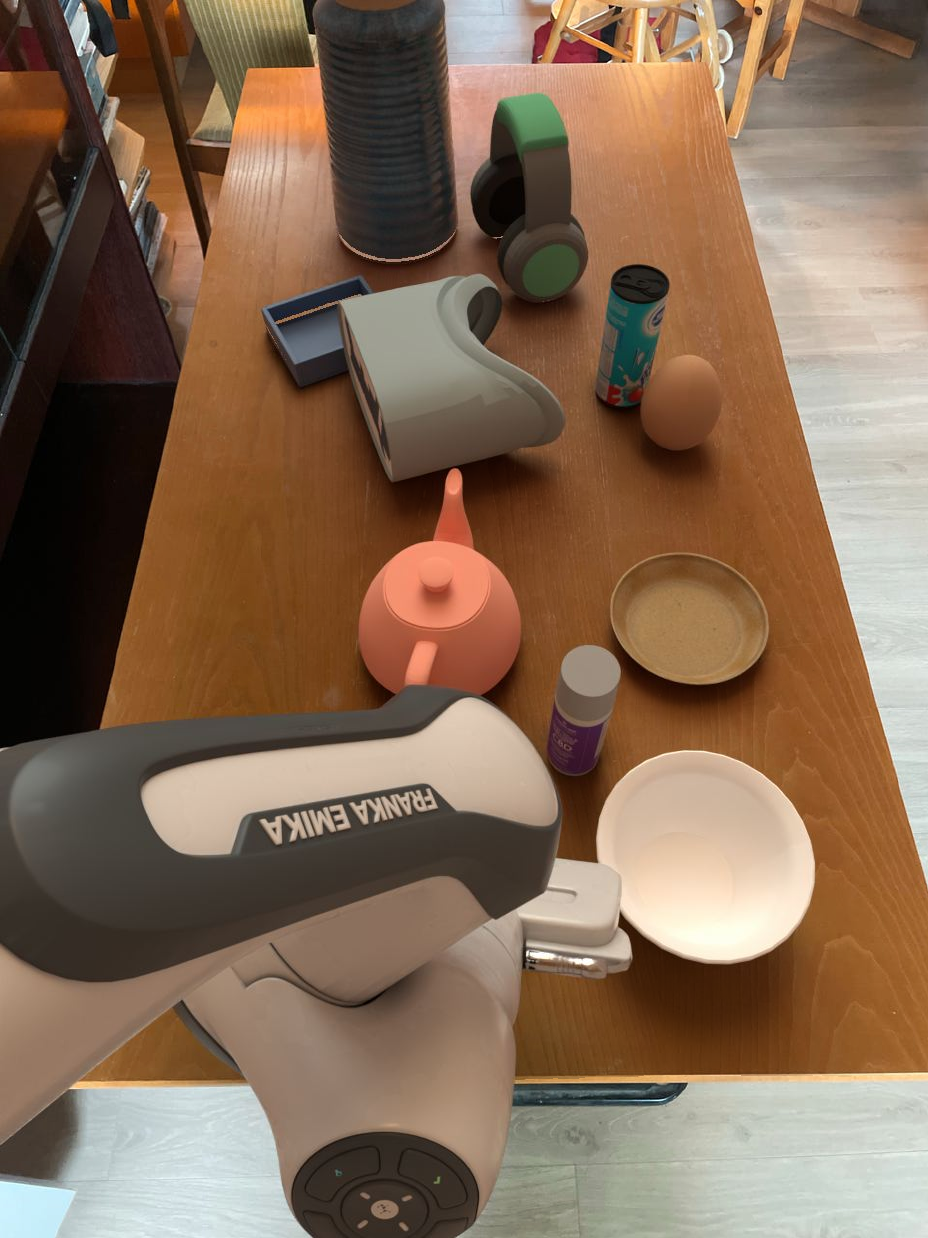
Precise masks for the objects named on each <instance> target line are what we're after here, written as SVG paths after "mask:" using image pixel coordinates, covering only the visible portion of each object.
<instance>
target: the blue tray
mask: <svg viewBox="0 0 928 1238" xmlns="http://www.w3.org/2000/svg"><path fill="white" fill-rule="evenodd" d="M374 293H375V292H374V291H373V290H372V288H371V286H370V285H369V284H368V282H367V281H366V279H365V278H364V277H363V275H362V274H359V275H355V276H353V277H350V278H347V279H344V280H341V281H338V282H335V283H331V284H329V285H326V286H323V287H320V288H316V289H314V290H310V291H308V292H305V293H302V294H298V295H296V296H293V297H290V298H286V299H284V300H280V301H277V302H274V303H272V304H269V305H265V306H262V307H260V310H261V315H262V318H263V322H265V323H264V326H265V324H266V326H267V327H268V329H269V331H270V333H271V334H270V333H269V331H268V329H267V327H266V326H265V330H266V333H267V334H268V337H269V338H270V339H271V341H272V343H273V344H274V347H275V348H276V350H277V351H278V353H279V355H280V357H281V358H282V360H283V362H284V363H285V365H286V367H287V368H288V370H289V372H290V374H291V375H292V377H293V378H294V380H295V382H296V384H297V385H298V387H299V388H303V387H306V386H308V385H312V384H314V383H317V382H320V381H322V380H325V379H329V378H331V377H334V376H337V375H340V374H342V373H345V372H347V371H349V368H348V364H347V360H346V356H345V352H344V348H343V343H342V338H341V332H340V326H339V319H338V309H337V306H338V304H335V305H332V306H329V307H326V308H323V309H320V310H317V311H314V312H312V313H309V314H306V315H303V316H300V317H297V318H294V319H291V320H288V321H285V322H282V323H279V324H275V322H276V321H278V320H282V319H284V318H287V317H290V316H292V315H296V314H299V313H302V312H304V311H308V310H311V309H315V308H318V307H319V306H323V305H325V304H327V303H332V302H335V301H338V300H342V299H345V298H348V297H351V296H354V295H358V294H361V295H362V296H364V295H369V294H374ZM359 297H360V296H359ZM271 335H272V336H273V338H274V339H273V338H272V336H271ZM274 340H275V341H274ZM275 342H276V343H277V344H276V343H275ZM277 345H278V346H277ZM278 347H279V348H278ZM281 352H282V353H281ZM282 354H283V355H282ZM285 359H286V360H285Z"/></svg>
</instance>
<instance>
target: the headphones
mask: <svg viewBox="0 0 928 1238" xmlns="http://www.w3.org/2000/svg"><path fill="white" fill-rule="evenodd" d="M498 100H499V99H498ZM569 144H570V143H569V137H568V132H567V128H566V126H565V123H564V121H563V118H562V116H561V114H560V112H559V110H558V109H557V107H556V105H555V104H554V101H552V99H551V98H550V97H549V96H548V95H547V94H545V93H543V92H533V93H527V94H521V95H515V96H509V97H503V98H501V99H500V100H499V101H498V102H497V105H496V109H495V111H494V113H493V118H492V123H491V130H490V144H489V145H490V146H489V157H488V158H487V159H486V160H485V161H484V162H483V163H482V164H481V165H480V166H479V168H478V169H477V171H476V172H475V174H474V175H473V178H472V181H471V184H470V193H469V196H470V204H471V208H472V214H473V216H474V219H475V221H476V224H477V225H478V227H479V229H480V230H481V231H482V232H483V233H484V234H485V235H486V236H488V237H490V238H491V237H501V236H503V237H502V238H497V239H496V240H497V241H499V244H498V247H497V253H496V254H497V255H496V263H497V268H498V270H499V273H500V276H501V277H502V279H503V281H504V282H505V284H506V285H507V286H509V288H510V289H511V291H512V292H513V293H514V294H515V295H516V296H517V298H520V299H522V300H524V301H527V302H530V303H531V302H532V303H547V302H551V301H555V300H557V299H559V298H561V297H563V296H565V295H566V294H568V293H569V292H570V291H572V290H573V289H574V288H575V287H576V285H577V284H578V283H579V282H580V280H581V279H582V277H583V275H584V273H585V271H586V269H587V266H588V262H589V248H588V244H587V243H588V242H587V240H586V237H585V232H584V230H583V228H582V225H581V224H580V222H579V220H578V219H577V218H576V217H575V216H574V215H573V214H572V194H573V193H572V192H573V191H572V189H573V188H572V168H571V167H572V166H571V159H570V152H569V151H570V150H569ZM558 297H559V298H558ZM556 298H557V299H556ZM553 299H554V300H553ZM548 300H550V301H548ZM543 301H544V302H543Z"/></svg>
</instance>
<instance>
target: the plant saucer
mask: <svg viewBox="0 0 928 1238" xmlns="http://www.w3.org/2000/svg"><path fill="white" fill-rule="evenodd" d="M768 615H769V613H768V611H767V608H766V605H765V603H764V601H763V599H762V597H761V595H760V594H759V592H758V591H757V589H756V588H755V587H754V585H753V584H752V583H751V582H750V581H749V580H748V579H747V578H746V577H745V576H744V574H741V572H738V571H737V570H736V569H735V568H734V567H732V566H730V565H728V564H726V563H724V562H723V561H720V560H718V559H716V558H713V557H711V556H708V555H703V554H698V553H695V552H694V553H693V552H667V553H661V554H657V555H654V556H650V557H647V558H646V559H644V560H641V561H639V562H638V563H636V564H634V565H633V566H632V567H630V568H629V569H628V570H627V571H626V572H625V573H624V574H623V575H622V576H621V577H620V579H619V580H618V582H617V583H616V586H615V587H614V589H613V592H612V594H611V598H610V604H609V616H610V623H611V627H612V629H613V632H614V634H615V637H616V639H617V641H618V642H619V644H620V645H621V647H622V649H624V651H625V652H626V653H627V655H629V657H631V658H632V659H633V661H635V662H636V663H637V664H638V665H640V666H641V667H642V668H644V669H645V670H647V671H648V672H650V673H652V674H654V675H656V676H658V677H660V678H663V679H665V680H668V681H672V682H676V683H679V684H685V685H697V686H701V685H702V686H704V685H715V684H718V683H723V682H726V681H729V680H732V679H735V678H736V677H739V676H740V675H742V674H743V673H745V672H746V671H748V670H749V669H750V668H751V667H752V666H753V665H754V664H756V662H757V661H758V659H759V658H760V657H761V656H762V654H763V652H764V650H765V649H766V646H767V643H768V639H769V633H770V625H769V623H770V622H769V616H768Z"/></svg>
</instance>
